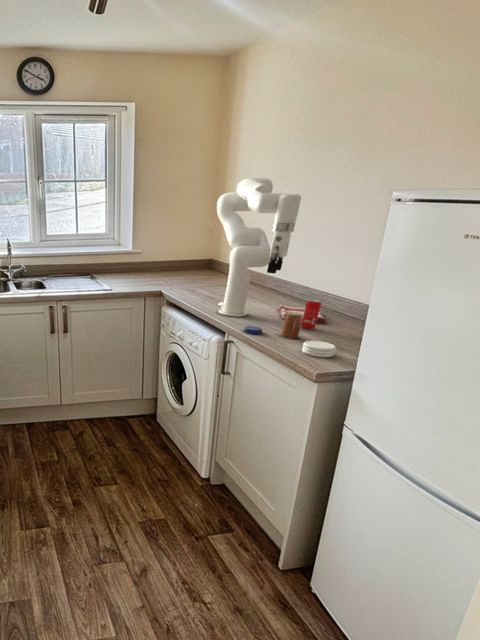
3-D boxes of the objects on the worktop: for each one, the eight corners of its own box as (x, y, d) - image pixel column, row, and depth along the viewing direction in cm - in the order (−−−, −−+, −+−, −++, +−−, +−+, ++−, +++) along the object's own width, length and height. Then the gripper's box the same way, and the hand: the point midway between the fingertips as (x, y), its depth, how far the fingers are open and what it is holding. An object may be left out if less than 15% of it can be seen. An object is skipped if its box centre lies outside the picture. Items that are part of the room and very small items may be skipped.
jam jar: (277, 335, 186) (283, 312, 183) (288, 333, 188) (293, 311, 185) (290, 339, 181) (296, 316, 178) (301, 337, 183) (307, 314, 180)
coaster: (296, 352, 166) (299, 343, 165) (308, 347, 172) (310, 338, 171) (326, 360, 159) (329, 350, 158) (338, 354, 165) (340, 345, 163)
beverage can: (297, 327, 197) (304, 300, 192) (305, 325, 199) (312, 298, 194) (309, 330, 193) (316, 302, 188) (317, 328, 195) (324, 301, 190)
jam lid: (265, 333, 189) (266, 329, 188) (253, 335, 187) (254, 331, 186) (252, 329, 194) (253, 325, 194) (240, 330, 192) (241, 326, 191)
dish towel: (283, 320, 208) (284, 314, 207) (278, 308, 228) (279, 303, 227) (325, 323, 202) (327, 318, 201) (316, 312, 222) (318, 306, 221)
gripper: (290, 229, 171) (279, 275, 178) (298, 226, 183) (288, 269, 190) (268, 228, 175) (258, 273, 182) (277, 226, 188) (268, 268, 194)
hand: (273, 271), depth 186 cm, fingers open, 9 cm apart
